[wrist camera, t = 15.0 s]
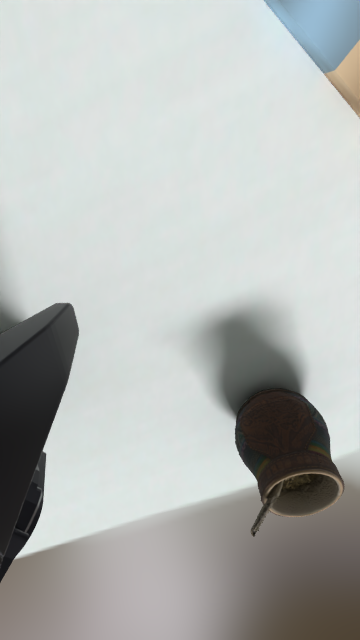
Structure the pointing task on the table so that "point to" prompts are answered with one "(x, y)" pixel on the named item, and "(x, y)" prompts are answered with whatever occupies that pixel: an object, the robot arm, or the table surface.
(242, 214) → the table surface
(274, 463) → the mate gourd
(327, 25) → the board
